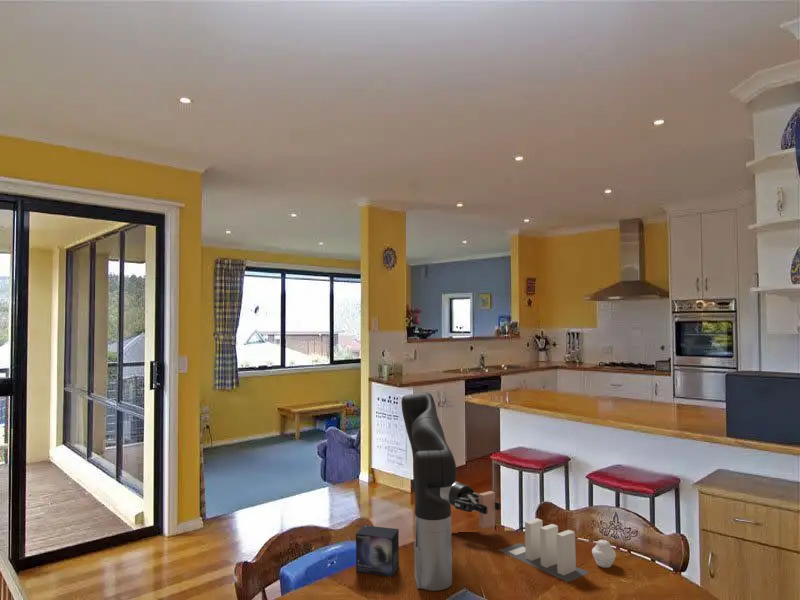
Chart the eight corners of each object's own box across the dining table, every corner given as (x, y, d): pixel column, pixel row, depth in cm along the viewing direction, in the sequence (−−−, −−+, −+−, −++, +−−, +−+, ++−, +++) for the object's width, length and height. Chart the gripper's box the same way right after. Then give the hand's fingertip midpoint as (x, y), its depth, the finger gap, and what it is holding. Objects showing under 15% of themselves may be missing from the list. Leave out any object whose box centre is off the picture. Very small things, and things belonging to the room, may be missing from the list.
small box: (354, 573, 147) (354, 533, 148) (363, 562, 153) (363, 524, 154) (392, 577, 144) (392, 537, 145) (399, 567, 150) (399, 528, 151)
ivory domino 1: (525, 558, 154) (524, 521, 154) (537, 554, 157) (537, 518, 157) (531, 560, 152) (530, 524, 153) (543, 556, 155) (542, 520, 156)
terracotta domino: (479, 526, 170) (478, 493, 170) (490, 523, 173) (490, 490, 173) (483, 528, 168) (483, 495, 168) (495, 525, 171) (495, 492, 171)
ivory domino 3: (557, 572, 145) (556, 533, 145) (569, 567, 148) (568, 529, 148) (563, 575, 143) (562, 536, 144) (575, 570, 146) (574, 531, 147)
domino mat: (498, 551, 160) (498, 549, 160) (520, 544, 165) (520, 542, 165) (567, 583, 140) (567, 581, 140) (590, 574, 145) (590, 572, 145)
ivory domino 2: (540, 565, 149) (539, 527, 150) (553, 560, 152) (552, 523, 153) (546, 567, 148) (545, 529, 148) (558, 563, 151) (557, 525, 151)
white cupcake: (595, 559, 154) (595, 533, 154) (618, 564, 150) (618, 538, 151) (589, 567, 149) (588, 541, 149) (613, 573, 145) (612, 546, 145)
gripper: (439, 486, 178) (475, 501, 164) (472, 478, 186) (509, 491, 172) (439, 510, 178) (476, 526, 164) (473, 501, 186) (510, 516, 172)
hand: (493, 508), depth 168 cm, fingers closed on terracotta domino, 5 cm apart
